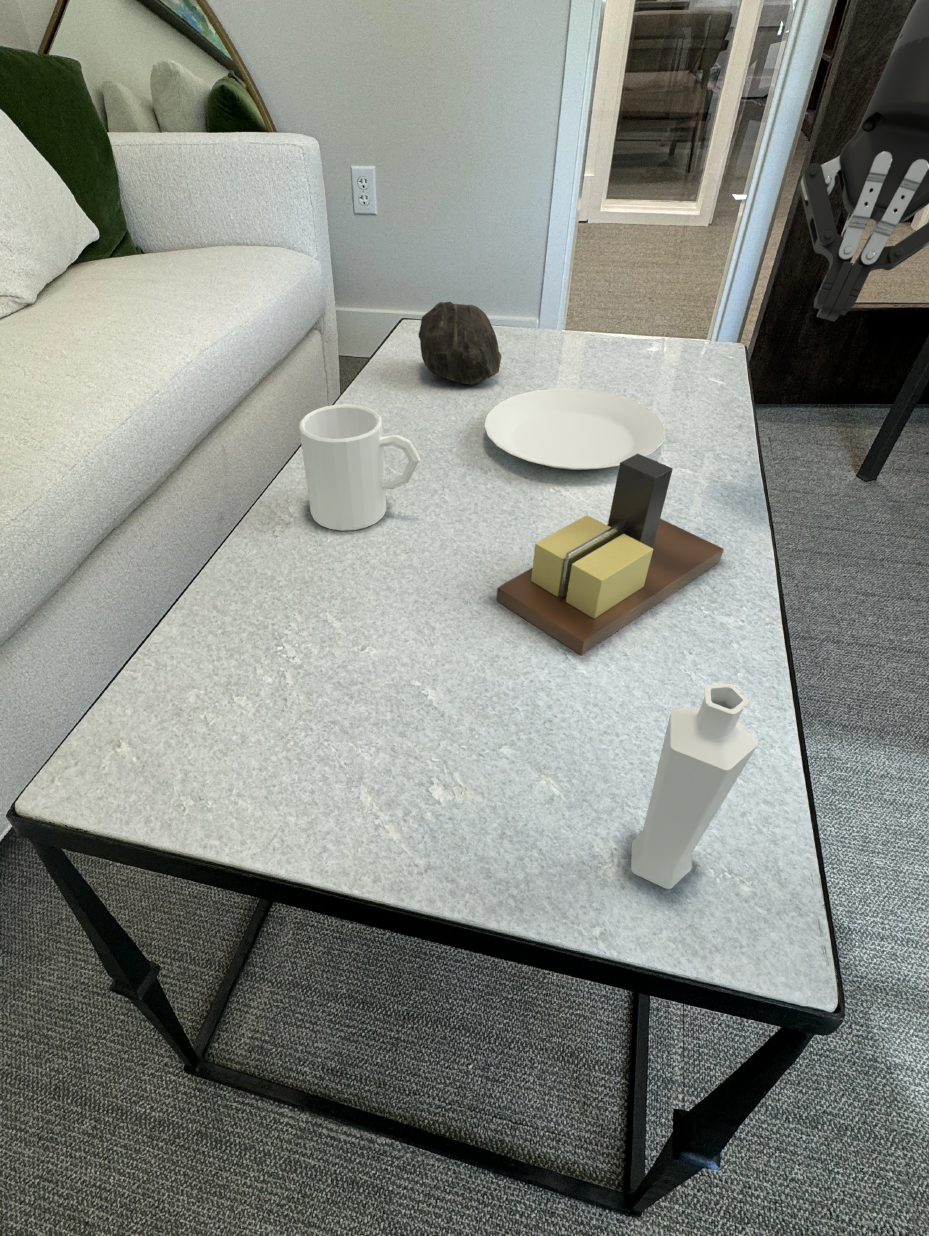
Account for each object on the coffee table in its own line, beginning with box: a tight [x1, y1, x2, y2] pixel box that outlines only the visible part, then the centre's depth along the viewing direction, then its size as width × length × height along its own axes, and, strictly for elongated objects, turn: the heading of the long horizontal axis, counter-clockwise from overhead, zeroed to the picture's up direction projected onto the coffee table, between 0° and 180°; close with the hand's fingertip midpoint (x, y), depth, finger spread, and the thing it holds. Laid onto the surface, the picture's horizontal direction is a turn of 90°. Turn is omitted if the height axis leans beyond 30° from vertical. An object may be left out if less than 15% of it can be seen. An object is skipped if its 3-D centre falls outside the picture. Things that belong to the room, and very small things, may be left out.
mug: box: [298, 403, 421, 532], centre depth 74 cm, size 8×12×10 cm
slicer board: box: [496, 518, 725, 656], centre depth 67 cm, size 20×10×2 cm, turn 130°
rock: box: [418, 301, 502, 385], centre depth 99 cm, size 10×11×10 cm
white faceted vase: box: [630, 683, 760, 890], centre depth 41 cm, size 5×4×15 cm
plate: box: [483, 387, 667, 471], centre depth 86 cm, size 21×21×2 cm
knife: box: [560, 454, 674, 597], centre depth 62 cm, size 10×4×9 cm, turn 130°
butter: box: [531, 514, 653, 619], centre depth 64 cm, size 7×7×4 cm
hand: (827, 317), depth 59 cm, fingers closed
